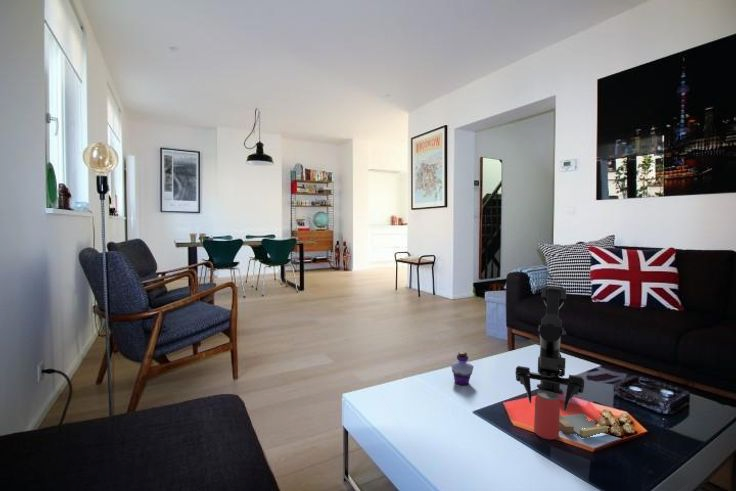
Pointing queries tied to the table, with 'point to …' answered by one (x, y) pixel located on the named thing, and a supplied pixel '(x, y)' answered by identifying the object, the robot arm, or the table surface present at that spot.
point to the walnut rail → (565, 426)
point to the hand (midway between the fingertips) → (547, 406)
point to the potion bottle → (462, 369)
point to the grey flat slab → (584, 425)
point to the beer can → (547, 415)
